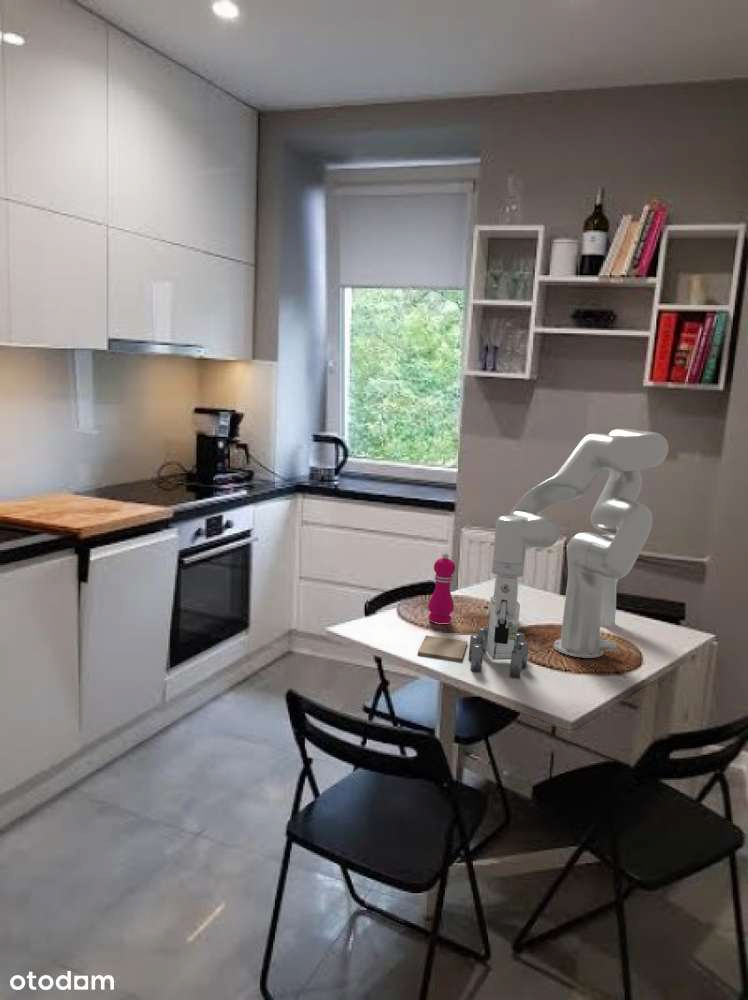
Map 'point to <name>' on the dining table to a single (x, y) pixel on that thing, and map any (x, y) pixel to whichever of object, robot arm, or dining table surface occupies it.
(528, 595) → the dining table surface
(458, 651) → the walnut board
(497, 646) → the syrup box
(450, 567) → the pepper mill
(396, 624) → the dining table surface
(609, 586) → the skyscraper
